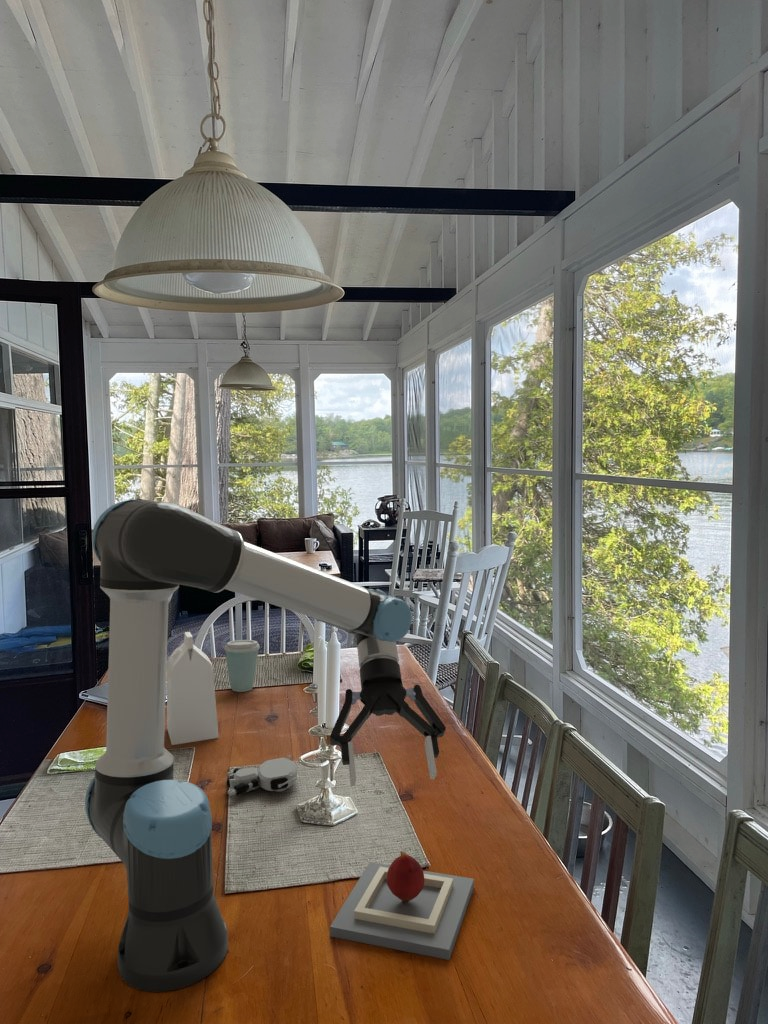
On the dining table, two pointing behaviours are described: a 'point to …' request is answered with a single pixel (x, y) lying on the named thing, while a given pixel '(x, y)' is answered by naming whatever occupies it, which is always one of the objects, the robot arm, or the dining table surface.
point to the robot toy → (263, 777)
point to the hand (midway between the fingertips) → (393, 779)
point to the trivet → (405, 913)
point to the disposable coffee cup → (241, 663)
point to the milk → (190, 695)
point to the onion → (405, 877)
